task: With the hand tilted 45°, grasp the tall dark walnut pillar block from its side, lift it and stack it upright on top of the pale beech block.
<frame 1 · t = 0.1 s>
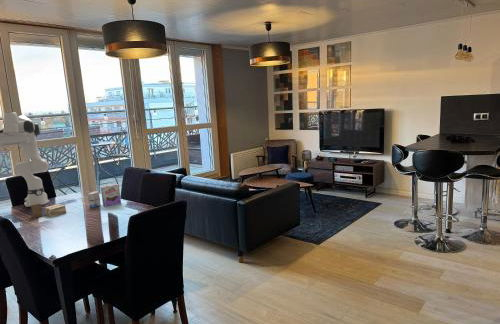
hand: (12, 149, 243), 54 cm above the table, tool tilted 30°, fingers open, 8 cm apart
candy box: (112, 204, 286), on the table
beech block: (56, 213, 270), on the table
walnut pillar: (37, 216, 265), on the table
ink box: (95, 206, 284), on the table
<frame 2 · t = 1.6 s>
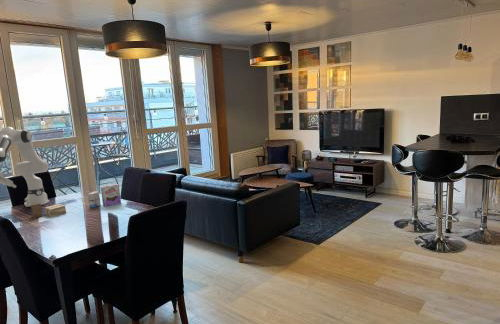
hand: (13, 186, 251), 27 cm above the table, tool tilted 45°, fingers open, 8 cm apart
nothing on the table moved.
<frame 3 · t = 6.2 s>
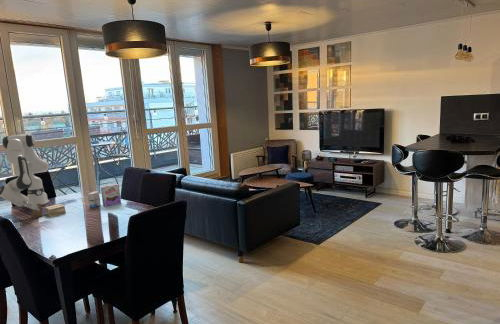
hand: (37, 209, 264), 5 cm above the table, tool tilted 45°, fingers closed on walnut pillar, 5 cm apart
walnut pillar: (37, 216, 265), on the table, touching gripper
everything else where it was.
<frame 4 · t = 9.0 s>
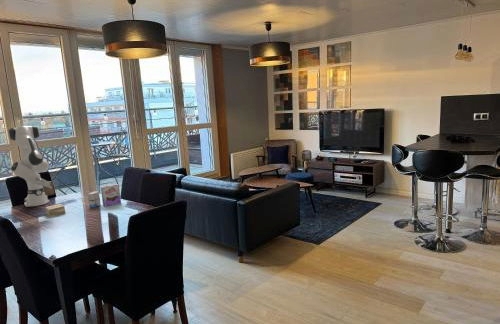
hand: (49, 187, 266), 21 cm above the table, tool tilted 45°, fingers closed on walnut pillar, 5 cm apart
walnut pillar: (49, 194, 266), point 16 cm above the table, touching gripper
everything else where it was.
when the fingers open (13 cm above the table, at t = 11.6 s): walnut pillar drops 2 cm, resting on beech block.
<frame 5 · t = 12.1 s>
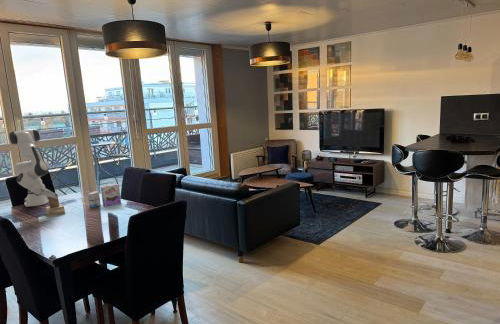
hand: (54, 197, 268), 13 cm above the table, tool tilted 45°, fingers open, 8 cm apart
beech block: (56, 213, 270), on the table, touching walnut pillar
walnut pillar: (54, 206, 268), point 6 cm above the table, touching beech block
everything else where it was.
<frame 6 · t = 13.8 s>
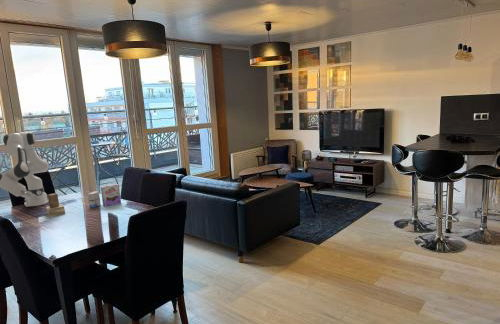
hand: (35, 199, 258), 14 cm above the table, tool tilted 45°, fingers open, 8 cm apart
nothing on the table moved.
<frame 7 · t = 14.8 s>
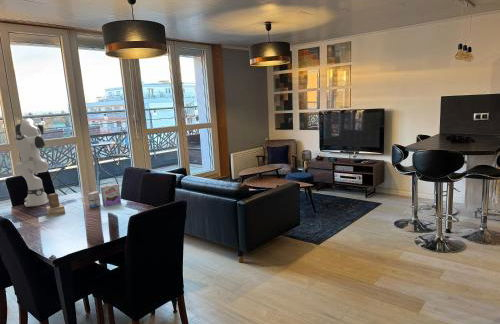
hand: (34, 173, 264), 33 cm above the table, tool pointing down, fingers open, 8 cm apart
beech block: (56, 213, 270), on the table
walnut pillar: (54, 206, 269), point 6 cm above the table
everything else where it was.
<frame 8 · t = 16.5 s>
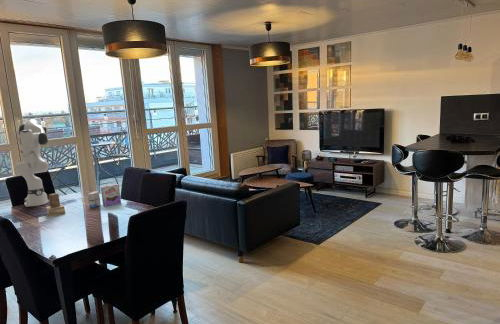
hand: (32, 168, 265), 37 cm above the table, tool pointing down, fingers open, 8 cm apart
beech block: (56, 213, 270), on the table, touching walnut pillar
walnut pillar: (55, 206, 269), point 6 cm above the table, touching beech block
everything else where it was.
at the end: walnut pillar inside the target area on the beech block (0.1 cm from its centre), point 6.0 cm above the beech block's base; walnut pillar tilted 0°; the gripper is holding nothing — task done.
